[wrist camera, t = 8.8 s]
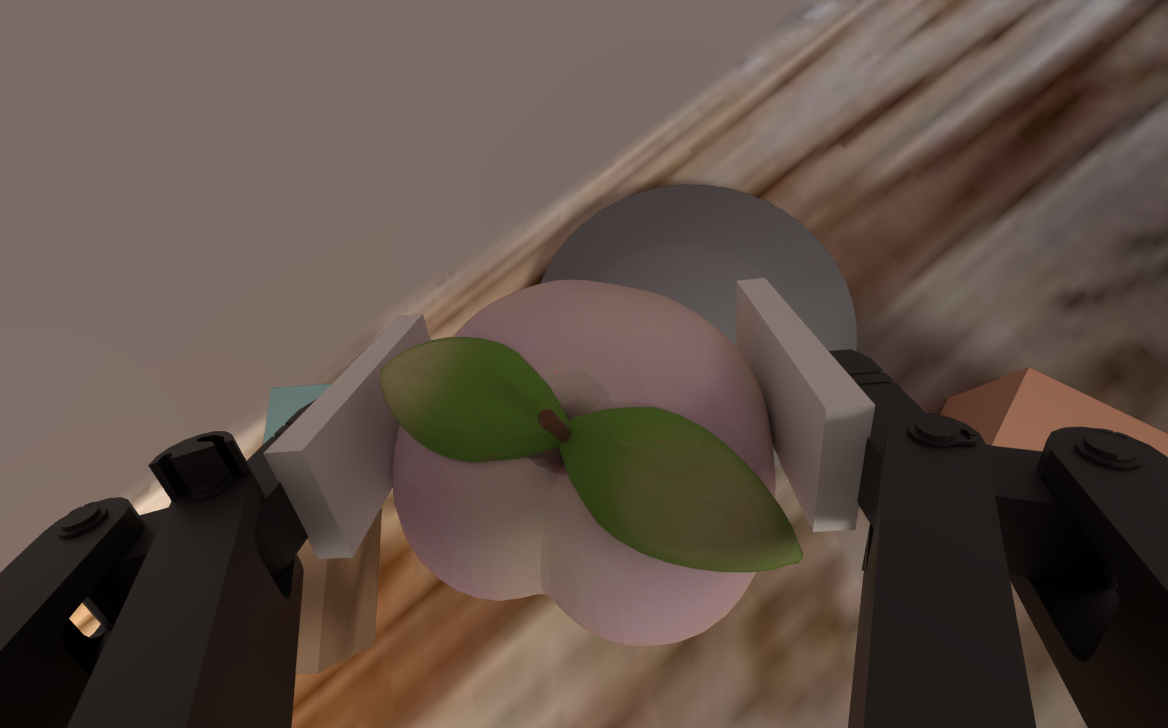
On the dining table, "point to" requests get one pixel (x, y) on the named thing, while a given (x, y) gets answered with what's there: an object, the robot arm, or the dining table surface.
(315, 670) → the walnut block
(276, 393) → the teal block
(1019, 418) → the terracotta block
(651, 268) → the slate plate
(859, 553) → the dining table surface
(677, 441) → the decorative fruit
